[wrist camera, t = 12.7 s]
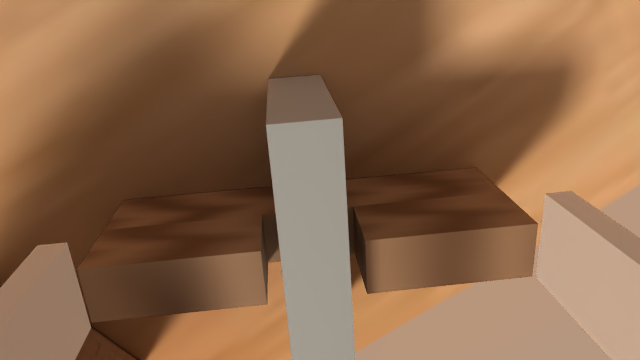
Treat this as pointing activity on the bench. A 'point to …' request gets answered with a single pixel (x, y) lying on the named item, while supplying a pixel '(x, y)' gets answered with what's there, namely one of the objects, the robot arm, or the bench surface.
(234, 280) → the slotted beam
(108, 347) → the wooden block
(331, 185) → the notched plate
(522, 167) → the bench surface
